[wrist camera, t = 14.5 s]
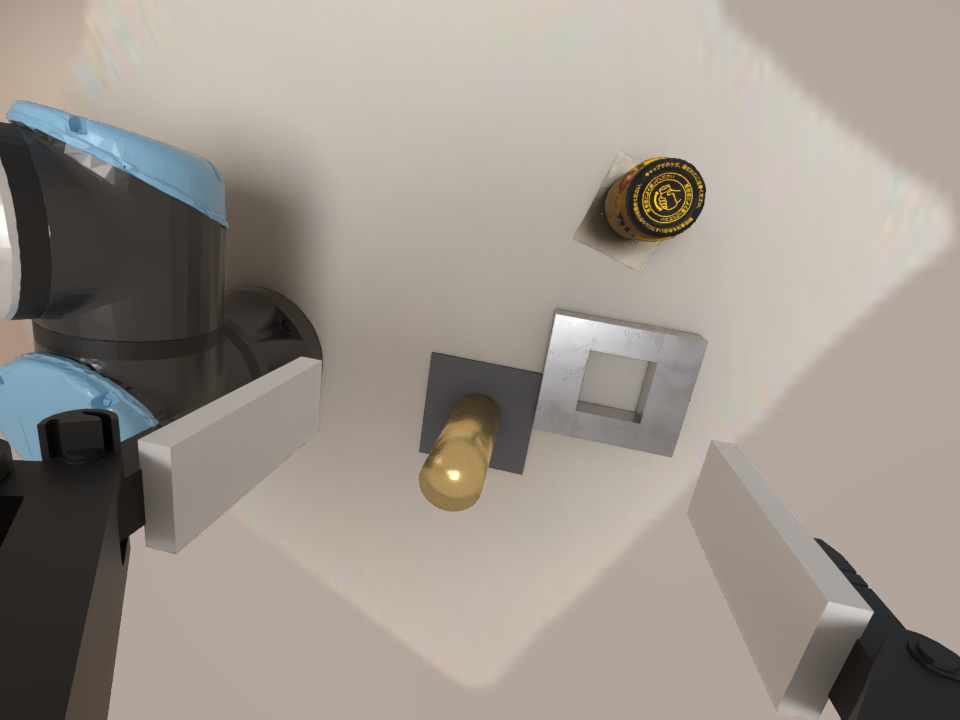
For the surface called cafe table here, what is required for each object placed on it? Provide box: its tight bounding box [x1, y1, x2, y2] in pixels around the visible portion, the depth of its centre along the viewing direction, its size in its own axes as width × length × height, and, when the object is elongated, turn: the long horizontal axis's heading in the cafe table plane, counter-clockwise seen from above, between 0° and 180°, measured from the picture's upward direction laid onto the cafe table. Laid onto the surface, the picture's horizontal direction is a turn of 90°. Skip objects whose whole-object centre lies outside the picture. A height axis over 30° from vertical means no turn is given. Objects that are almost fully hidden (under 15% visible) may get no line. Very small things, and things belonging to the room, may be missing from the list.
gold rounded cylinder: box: [419, 393, 501, 511], centre depth 44 cm, size 5×5×14 cm
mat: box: [419, 352, 543, 475], centre depth 51 cm, size 12×12×1 cm
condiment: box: [574, 151, 706, 273], centre depth 37 cm, size 7×8×12 cm
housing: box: [533, 309, 708, 457], centre depth 46 cm, size 14×12×3 cm
